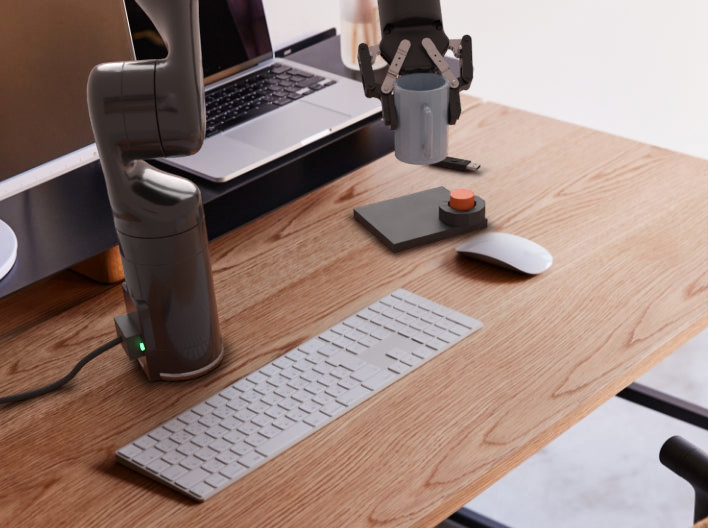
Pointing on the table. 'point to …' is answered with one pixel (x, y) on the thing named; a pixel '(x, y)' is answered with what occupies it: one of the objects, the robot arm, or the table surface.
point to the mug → (421, 118)
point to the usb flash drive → (458, 164)
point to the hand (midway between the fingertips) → (423, 124)
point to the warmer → (420, 218)
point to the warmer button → (462, 199)
